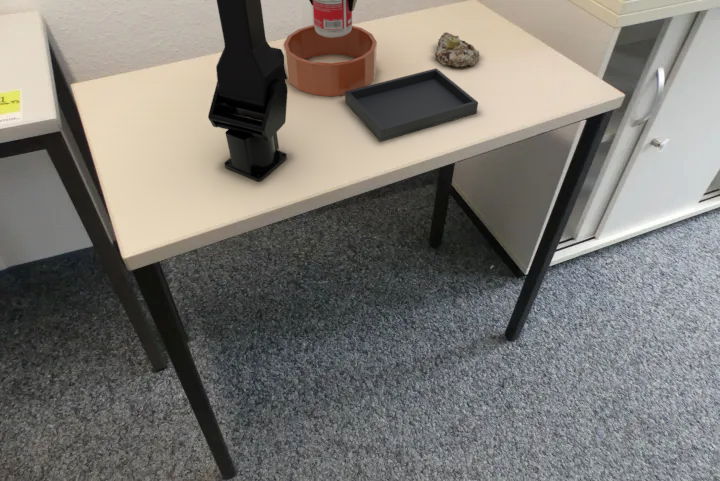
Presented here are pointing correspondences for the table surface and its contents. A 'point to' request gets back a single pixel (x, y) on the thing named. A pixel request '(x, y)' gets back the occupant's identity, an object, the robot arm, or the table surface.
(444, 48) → the mineral rock
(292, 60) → the pot
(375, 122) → the tray
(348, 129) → the table surface
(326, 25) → the pill bottle
